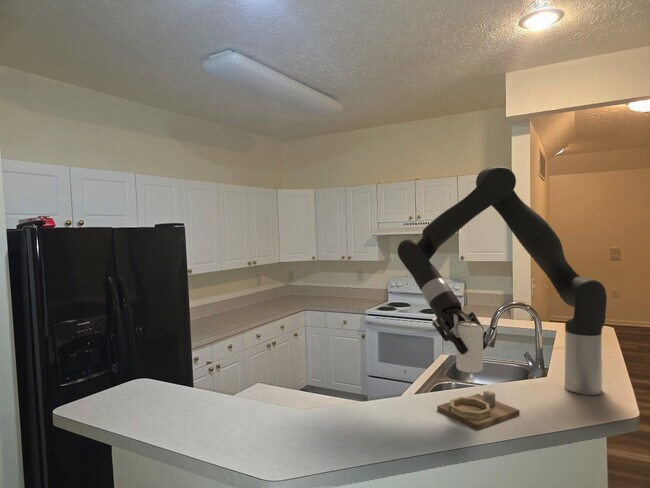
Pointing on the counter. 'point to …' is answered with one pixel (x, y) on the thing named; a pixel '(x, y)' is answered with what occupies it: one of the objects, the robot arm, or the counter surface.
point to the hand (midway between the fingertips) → (474, 350)
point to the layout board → (478, 410)
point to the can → (470, 347)
